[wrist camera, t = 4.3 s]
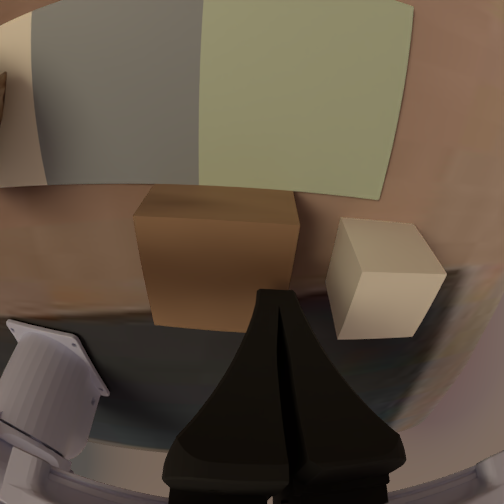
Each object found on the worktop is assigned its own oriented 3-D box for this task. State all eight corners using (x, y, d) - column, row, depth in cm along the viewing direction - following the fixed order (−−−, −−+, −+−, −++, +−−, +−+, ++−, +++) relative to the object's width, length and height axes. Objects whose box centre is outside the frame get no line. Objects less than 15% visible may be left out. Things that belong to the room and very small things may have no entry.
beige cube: (324, 280, 17) (391, 282, 17) (337, 339, 13) (413, 336, 13) (340, 216, 14) (413, 223, 14) (362, 271, 11) (447, 274, 11)
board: (377, 198, 13) (378, 200, 13) (-35, 189, 13) (-36, 190, 13) (411, 7, 8) (413, 6, 8) (-55, 57, 7) (-57, 58, 7)
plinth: (277, 290, 17) (279, 334, 14) (167, 283, 17) (154, 324, 14) (292, 189, 13) (300, 225, 11) (155, 181, 13) (133, 216, 11)
